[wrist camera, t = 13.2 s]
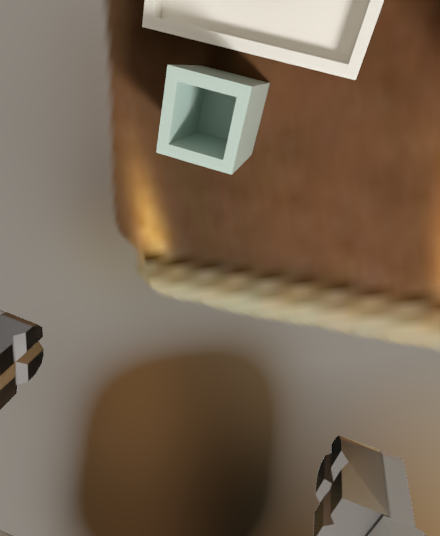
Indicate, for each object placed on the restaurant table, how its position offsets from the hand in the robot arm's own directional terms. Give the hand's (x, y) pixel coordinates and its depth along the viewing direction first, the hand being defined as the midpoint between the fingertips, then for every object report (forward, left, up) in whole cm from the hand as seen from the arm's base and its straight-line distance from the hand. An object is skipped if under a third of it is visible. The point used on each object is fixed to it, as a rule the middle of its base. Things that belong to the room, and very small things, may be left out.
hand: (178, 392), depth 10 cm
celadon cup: (+8, -2, -34) cm, 35 cm away
